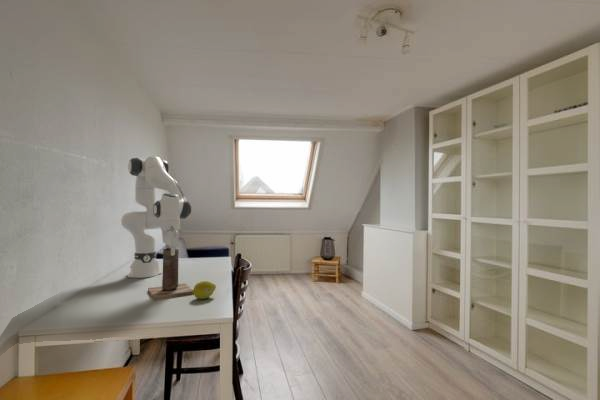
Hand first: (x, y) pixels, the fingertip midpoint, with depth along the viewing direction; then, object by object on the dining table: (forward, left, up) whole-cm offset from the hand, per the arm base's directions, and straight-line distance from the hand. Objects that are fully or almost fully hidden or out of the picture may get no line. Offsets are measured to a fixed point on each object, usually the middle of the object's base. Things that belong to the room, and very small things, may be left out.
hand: (170, 253), depth 162 cm
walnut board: (0, 0, -19) cm, 19 cm away
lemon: (+19, +11, -19) cm, 29 cm away
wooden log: (0, 0, -18) cm, 18 cm away
